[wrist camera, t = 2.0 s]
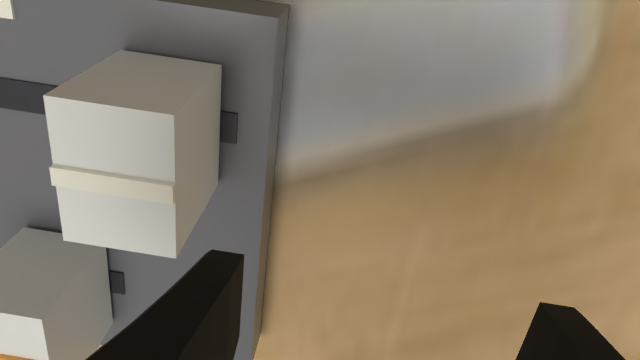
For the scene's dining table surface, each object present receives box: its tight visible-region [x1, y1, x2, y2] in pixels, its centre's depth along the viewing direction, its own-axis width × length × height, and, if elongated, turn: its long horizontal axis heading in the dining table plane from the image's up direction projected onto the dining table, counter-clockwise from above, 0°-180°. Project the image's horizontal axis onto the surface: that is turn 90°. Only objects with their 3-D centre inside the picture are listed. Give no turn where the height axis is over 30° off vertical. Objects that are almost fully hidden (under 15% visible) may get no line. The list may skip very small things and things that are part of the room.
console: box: [0, 0, 289, 360], centre depth 19 cm, size 17×14×2 cm
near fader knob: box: [43, 50, 222, 259], centre depth 14 cm, size 3×4×4 cm
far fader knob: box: [0, 227, 113, 360], centre depth 18 cm, size 3×4×4 cm
